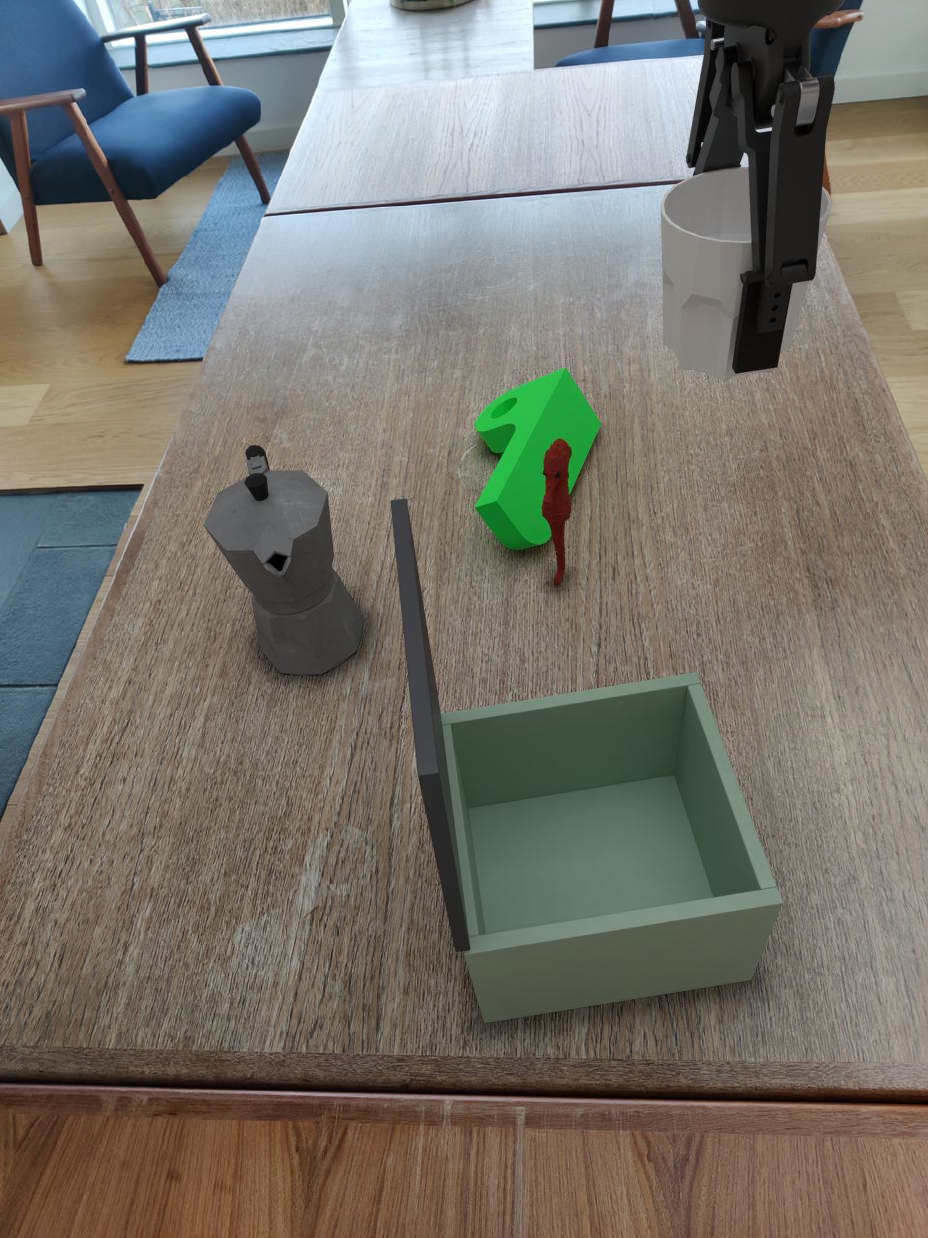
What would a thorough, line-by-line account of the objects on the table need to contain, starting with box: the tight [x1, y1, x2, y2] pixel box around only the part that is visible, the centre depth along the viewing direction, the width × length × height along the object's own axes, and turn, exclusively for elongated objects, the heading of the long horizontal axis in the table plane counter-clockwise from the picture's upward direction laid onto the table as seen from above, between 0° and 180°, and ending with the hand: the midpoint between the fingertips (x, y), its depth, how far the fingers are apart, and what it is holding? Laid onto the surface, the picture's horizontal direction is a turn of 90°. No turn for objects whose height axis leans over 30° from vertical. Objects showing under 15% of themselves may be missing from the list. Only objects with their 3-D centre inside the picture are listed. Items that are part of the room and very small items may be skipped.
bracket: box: [474, 366, 602, 551], centre depth 85 cm, size 20×10×7 cm
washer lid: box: [389, 497, 471, 953], centre depth 44 cm, size 18×15×1 cm
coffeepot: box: [203, 444, 365, 677], centre depth 71 cm, size 15×9×18 cm, turn 16°
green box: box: [441, 671, 784, 1024], centre depth 55 cm, size 17×15×12 cm
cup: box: [659, 166, 833, 383], centre depth 58 cm, size 10×10×10 cm
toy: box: [541, 438, 573, 587], centre depth 73 cm, size 2×5×15 cm, turn 159°
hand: (729, 323), depth 60 cm, fingers closed on cup, 10 cm apart
